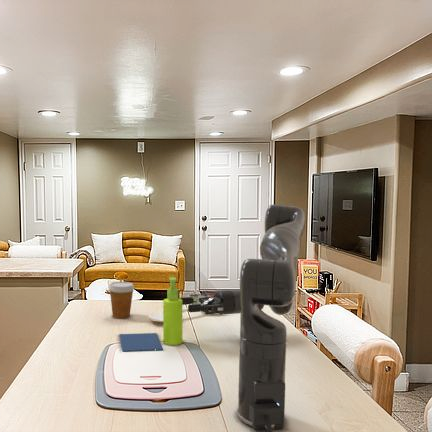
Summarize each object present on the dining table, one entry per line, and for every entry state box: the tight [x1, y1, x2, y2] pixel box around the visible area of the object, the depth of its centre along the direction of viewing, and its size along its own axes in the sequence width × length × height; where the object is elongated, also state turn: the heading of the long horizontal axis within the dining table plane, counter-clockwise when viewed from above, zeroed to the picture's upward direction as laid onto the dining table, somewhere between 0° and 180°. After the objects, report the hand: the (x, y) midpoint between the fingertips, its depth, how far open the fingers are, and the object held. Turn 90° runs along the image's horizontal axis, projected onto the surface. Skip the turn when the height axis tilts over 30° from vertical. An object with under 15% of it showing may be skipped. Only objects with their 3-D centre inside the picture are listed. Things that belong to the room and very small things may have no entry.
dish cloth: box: [119, 332, 164, 353], centre depth 133 cm, size 14×12×1 cm
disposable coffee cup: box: [108, 281, 135, 319], centre depth 160 cm, size 10×10×12 cm
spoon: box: [147, 307, 205, 323], centre depth 159 cm, size 9×32×4 cm, turn 121°
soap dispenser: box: [162, 276, 183, 346], centre depth 134 cm, size 6×7×20 cm
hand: (183, 304), depth 134 cm, fingers open, 8 cm apart
